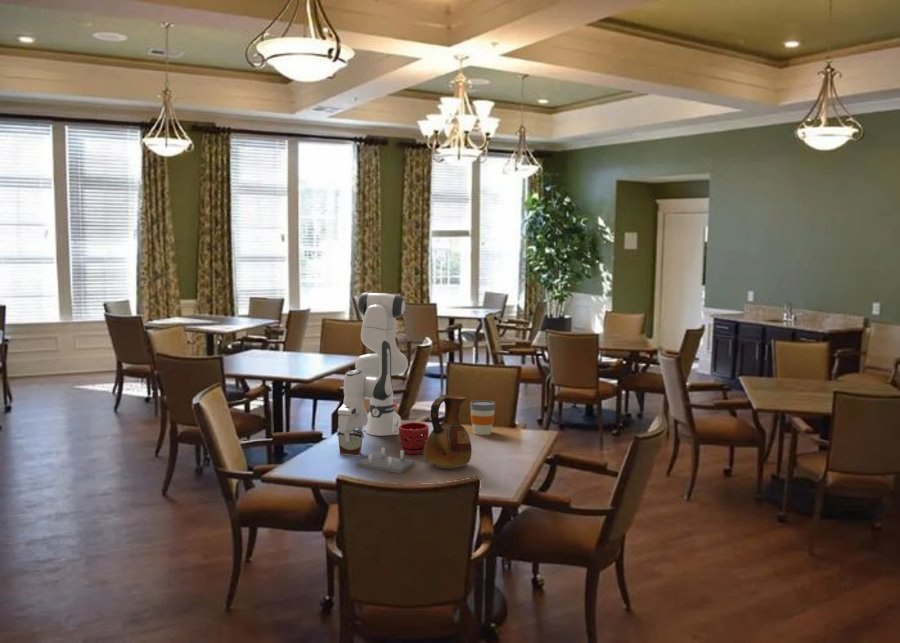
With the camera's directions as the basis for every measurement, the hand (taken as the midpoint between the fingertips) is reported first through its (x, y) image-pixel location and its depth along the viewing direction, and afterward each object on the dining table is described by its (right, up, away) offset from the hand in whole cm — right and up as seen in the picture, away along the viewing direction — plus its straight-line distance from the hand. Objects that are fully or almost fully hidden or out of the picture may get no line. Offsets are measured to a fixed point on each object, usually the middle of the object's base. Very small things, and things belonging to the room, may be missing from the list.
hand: (353, 438), depth 340 cm
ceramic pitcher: (+41, -9, -15) cm, 45 cm away
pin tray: (+16, -9, -16) cm, 24 cm away
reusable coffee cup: (+58, -4, +43) cm, 72 cm away
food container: (-1, -7, +1) cm, 7 cm away
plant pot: (+26, -7, +5) cm, 27 cm away
